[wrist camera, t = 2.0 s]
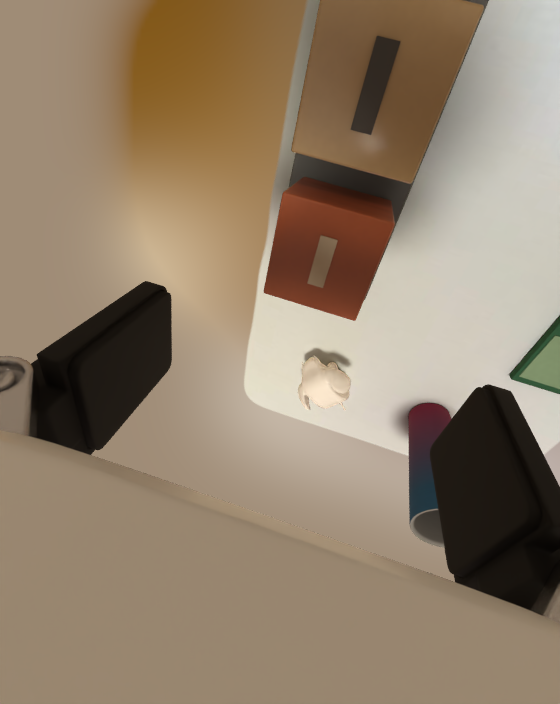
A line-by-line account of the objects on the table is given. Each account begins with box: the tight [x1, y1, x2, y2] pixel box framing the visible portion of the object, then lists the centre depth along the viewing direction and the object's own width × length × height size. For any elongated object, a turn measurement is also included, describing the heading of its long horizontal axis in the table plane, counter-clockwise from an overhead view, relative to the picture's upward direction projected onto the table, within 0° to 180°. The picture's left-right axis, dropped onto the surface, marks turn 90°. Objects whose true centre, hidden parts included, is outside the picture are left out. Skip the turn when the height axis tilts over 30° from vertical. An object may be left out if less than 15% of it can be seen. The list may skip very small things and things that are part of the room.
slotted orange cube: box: [264, 177, 395, 321], centre depth 17 cm, size 5×5×5 cm
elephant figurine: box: [298, 356, 350, 410], centre depth 40 cm, size 7×8×6 cm
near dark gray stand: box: [289, 0, 489, 300], centre depth 19 cm, size 20×6×19 cm, turn 168°
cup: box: [408, 403, 451, 548], centre depth 37 cm, size 7×7×15 cm
